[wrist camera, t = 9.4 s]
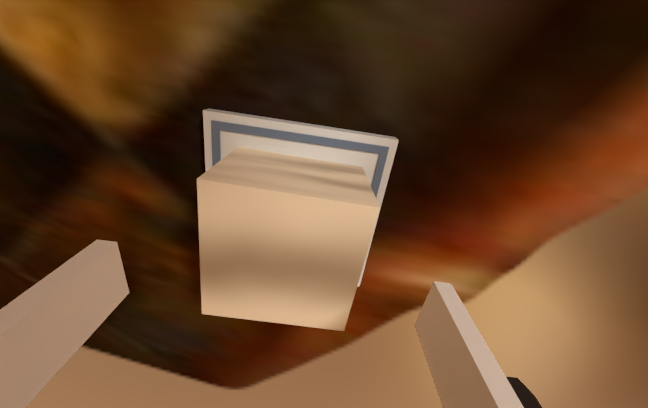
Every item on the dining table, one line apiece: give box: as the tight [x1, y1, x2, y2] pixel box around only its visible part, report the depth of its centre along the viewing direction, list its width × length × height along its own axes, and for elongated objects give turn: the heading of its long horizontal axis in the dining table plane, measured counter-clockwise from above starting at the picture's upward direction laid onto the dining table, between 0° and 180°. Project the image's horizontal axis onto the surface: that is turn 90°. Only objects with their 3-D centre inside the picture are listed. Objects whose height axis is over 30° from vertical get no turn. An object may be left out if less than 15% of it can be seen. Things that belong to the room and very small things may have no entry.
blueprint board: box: [203, 108, 399, 287], centre depth 19 cm, size 12×12×1 cm
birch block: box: [197, 146, 380, 331], centre depth 16 cm, size 8×8×6 cm
